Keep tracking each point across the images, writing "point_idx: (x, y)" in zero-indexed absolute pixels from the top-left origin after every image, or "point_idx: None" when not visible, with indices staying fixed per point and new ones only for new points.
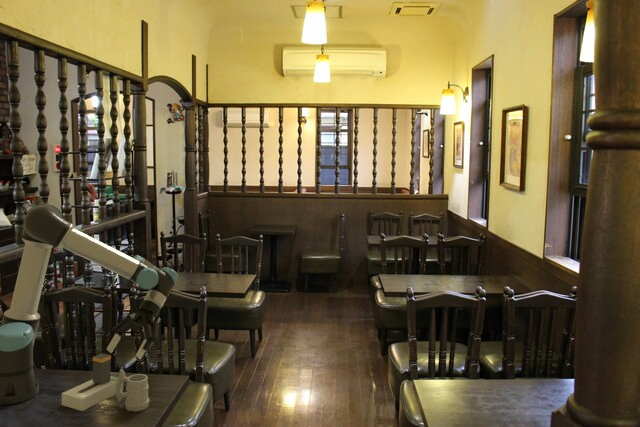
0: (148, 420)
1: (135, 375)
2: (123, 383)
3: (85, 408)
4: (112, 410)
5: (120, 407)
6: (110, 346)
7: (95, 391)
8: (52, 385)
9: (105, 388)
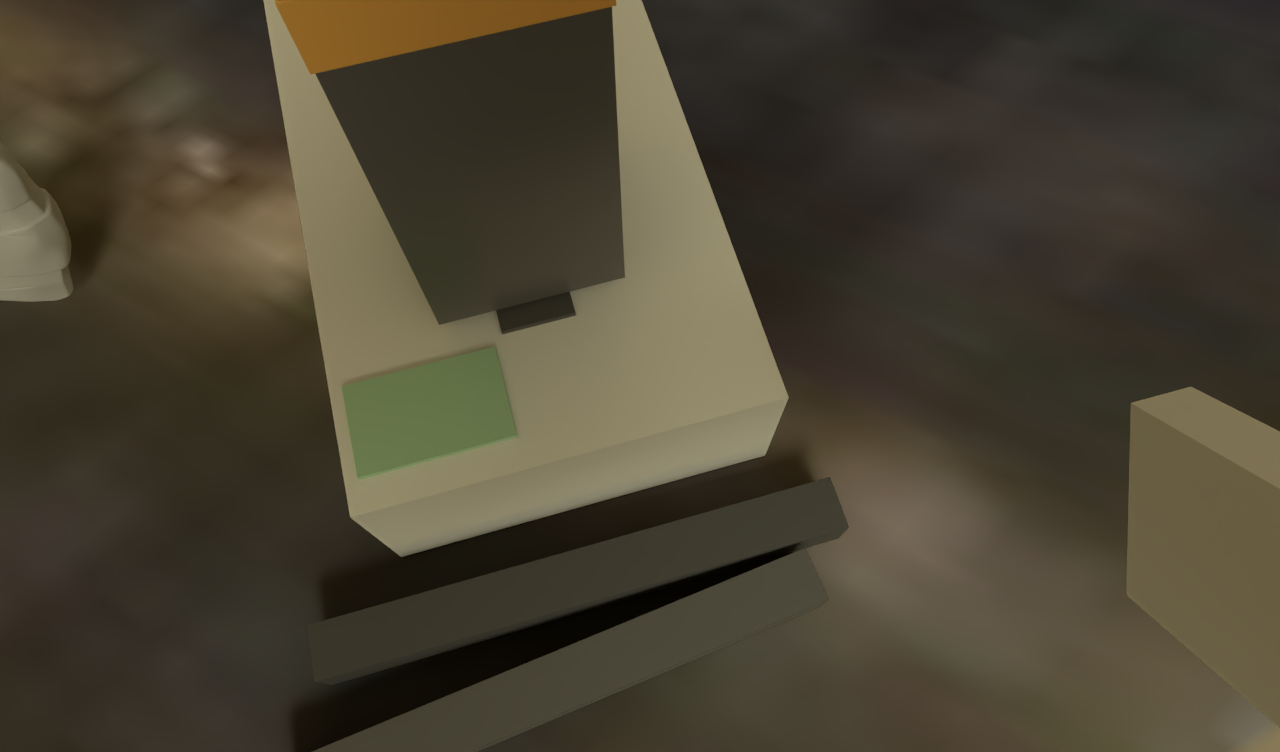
0: None
1: None
2: (487, 615)
3: None
4: (35, 178)
5: None
6: (1227, 490)
7: None
8: (1160, 50)
9: (298, 180)
